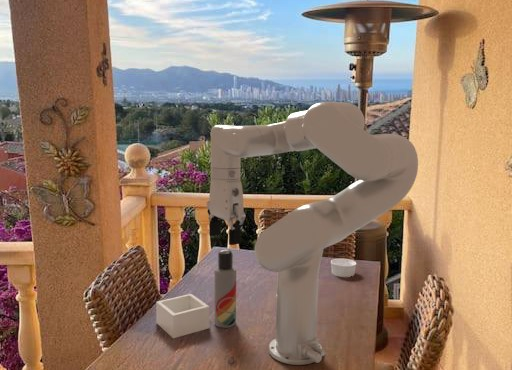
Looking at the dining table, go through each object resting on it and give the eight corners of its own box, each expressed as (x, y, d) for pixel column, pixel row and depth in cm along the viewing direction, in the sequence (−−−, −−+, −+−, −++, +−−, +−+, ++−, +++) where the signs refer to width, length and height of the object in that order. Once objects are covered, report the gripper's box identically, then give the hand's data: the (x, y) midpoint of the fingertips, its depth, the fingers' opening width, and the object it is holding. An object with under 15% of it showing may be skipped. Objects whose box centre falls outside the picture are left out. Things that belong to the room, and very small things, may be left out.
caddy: (209, 328, 124) (209, 306, 123) (173, 338, 119) (173, 315, 118) (191, 314, 133) (190, 293, 132) (156, 323, 127) (156, 301, 126)
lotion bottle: (232, 329, 124) (233, 255, 121) (211, 327, 125) (211, 253, 122) (238, 320, 129) (238, 248, 126) (217, 317, 131) (217, 247, 127)
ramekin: (330, 268, 173) (331, 257, 172) (355, 270, 171) (356, 259, 170) (329, 277, 164) (330, 265, 163) (355, 279, 162) (356, 267, 162)
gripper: (257, 177, 116) (255, 245, 119) (220, 169, 130) (219, 230, 133) (231, 180, 112) (230, 250, 115) (196, 170, 126) (195, 233, 129)
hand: (224, 239), depth 124 cm, fingers open, 9 cm apart
